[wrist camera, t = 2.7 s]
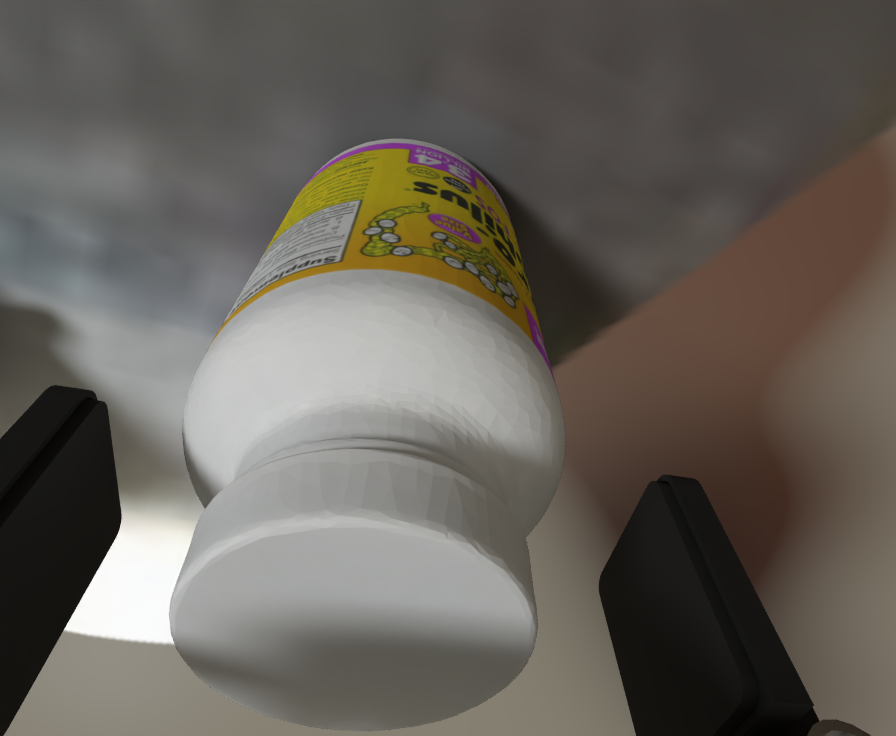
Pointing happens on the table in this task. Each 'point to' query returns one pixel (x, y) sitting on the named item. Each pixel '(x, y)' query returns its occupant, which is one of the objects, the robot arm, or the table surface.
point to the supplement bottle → (372, 454)
